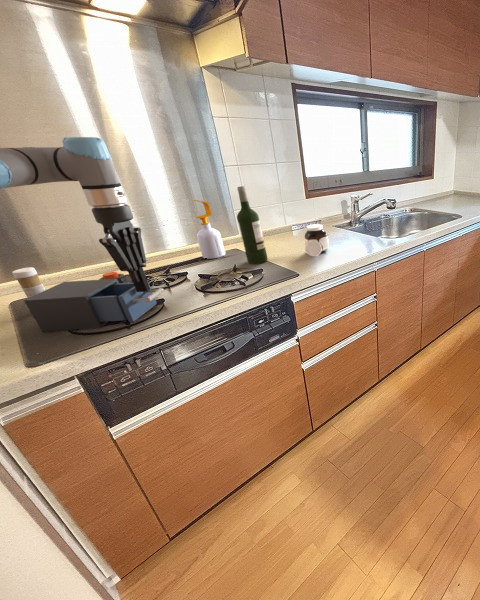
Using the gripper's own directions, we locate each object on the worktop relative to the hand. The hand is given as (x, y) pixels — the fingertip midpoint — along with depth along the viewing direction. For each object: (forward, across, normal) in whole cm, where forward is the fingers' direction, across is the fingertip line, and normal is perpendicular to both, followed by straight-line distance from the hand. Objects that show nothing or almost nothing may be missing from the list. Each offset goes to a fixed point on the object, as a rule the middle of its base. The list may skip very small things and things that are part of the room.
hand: (143, 290), depth 92 cm
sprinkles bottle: (+8, +8, +35) cm, 37 cm away
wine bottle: (+8, +45, -17) cm, 49 cm away
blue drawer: (+7, 0, +6) cm, 9 cm away
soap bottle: (+8, +56, +5) cm, 57 cm away
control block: (+8, +24, +26) cm, 36 cm away
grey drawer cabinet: (+8, 0, +18) cm, 19 cm away
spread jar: (+8, +52, -41) cm, 67 cm away
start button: (+4, +24, +26) cm, 35 cm away
